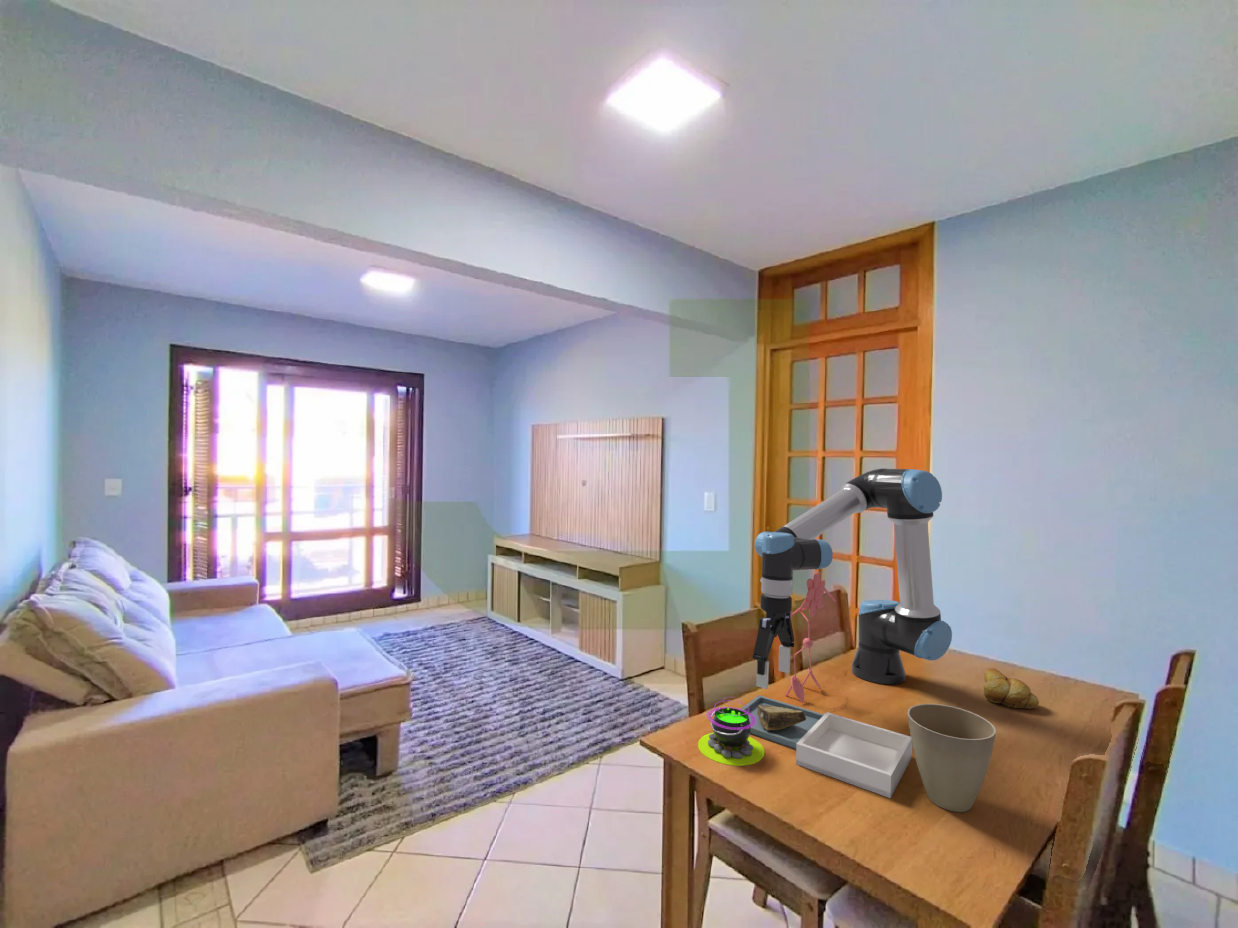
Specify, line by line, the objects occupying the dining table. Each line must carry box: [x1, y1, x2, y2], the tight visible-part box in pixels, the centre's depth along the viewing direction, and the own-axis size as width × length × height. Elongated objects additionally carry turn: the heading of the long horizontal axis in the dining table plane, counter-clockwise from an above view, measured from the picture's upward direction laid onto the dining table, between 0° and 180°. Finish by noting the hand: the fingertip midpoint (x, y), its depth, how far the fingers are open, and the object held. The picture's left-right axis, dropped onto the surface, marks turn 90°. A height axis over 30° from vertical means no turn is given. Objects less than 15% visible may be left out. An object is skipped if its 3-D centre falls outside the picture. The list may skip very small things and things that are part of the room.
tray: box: [740, 694, 825, 751], centre depth 141 cm, size 19×19×2 cm
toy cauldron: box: [697, 696, 766, 767], centre depth 128 cm, size 15×15×11 cm
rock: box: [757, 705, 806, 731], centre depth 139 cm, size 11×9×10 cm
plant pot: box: [907, 703, 997, 813], centre depth 110 cm, size 15×15×16 cm
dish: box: [795, 711, 913, 799], centre depth 124 cm, size 20×19×4 cm
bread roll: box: [983, 668, 1040, 710], centre depth 155 cm, size 13×10×8 cm
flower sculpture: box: [785, 571, 846, 711], centre depth 156 cm, size 15×26×35 cm, turn 135°
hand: (773, 679), depth 141 cm, fingers open, 13 cm apart
